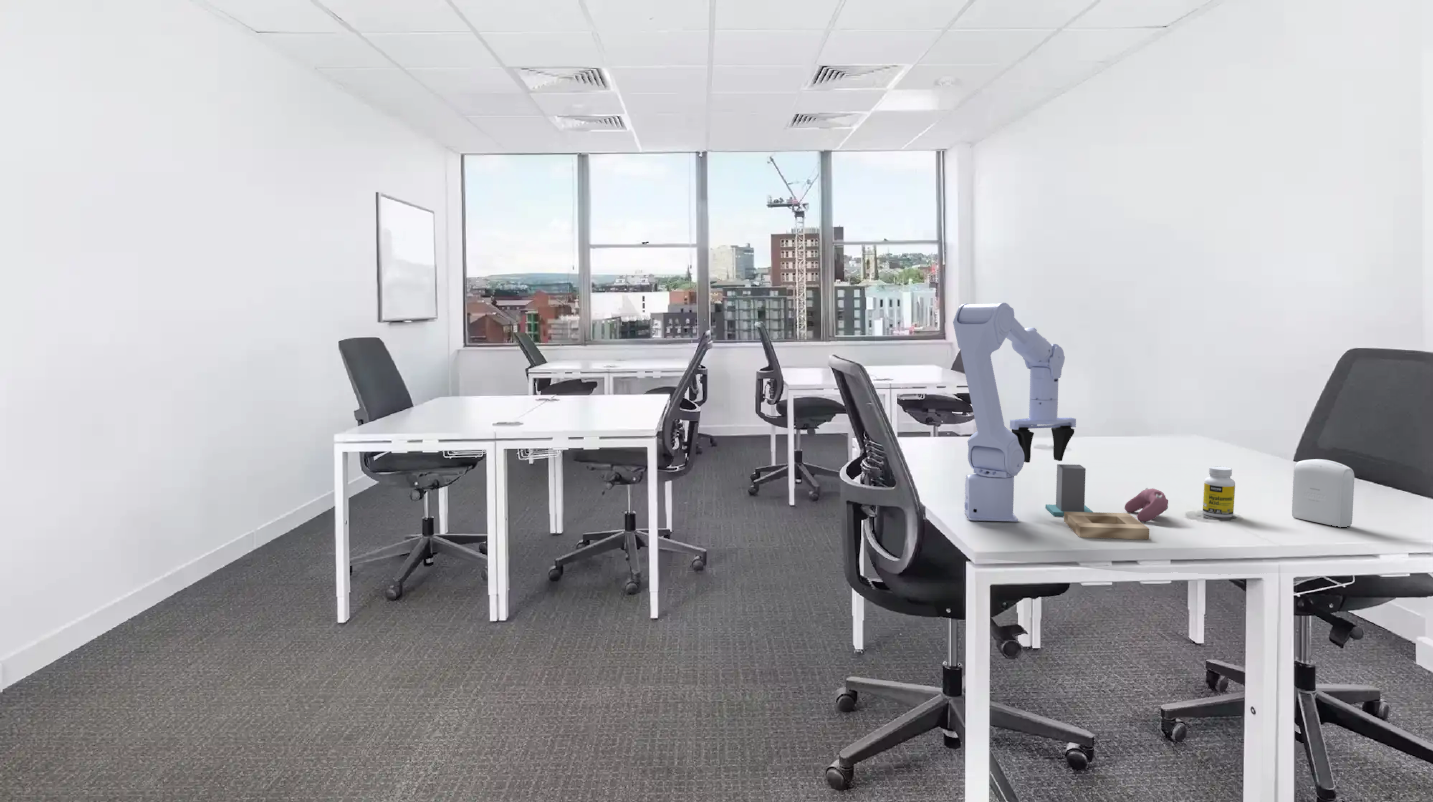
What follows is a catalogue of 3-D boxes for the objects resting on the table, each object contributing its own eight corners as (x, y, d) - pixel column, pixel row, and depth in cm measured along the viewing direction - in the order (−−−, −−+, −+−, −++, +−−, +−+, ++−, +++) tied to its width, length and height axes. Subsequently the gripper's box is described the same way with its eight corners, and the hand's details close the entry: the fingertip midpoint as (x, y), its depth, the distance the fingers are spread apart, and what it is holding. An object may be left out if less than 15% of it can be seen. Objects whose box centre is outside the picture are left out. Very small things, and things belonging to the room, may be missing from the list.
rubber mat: (1053, 515, 170) (1053, 511, 170) (1045, 508, 177) (1045, 504, 177) (1094, 516, 168) (1094, 513, 168) (1085, 508, 175) (1085, 505, 175)
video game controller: (1158, 530, 163) (1176, 500, 162) (1136, 519, 164) (1154, 489, 163) (1142, 518, 173) (1159, 489, 172) (1121, 508, 173) (1138, 479, 172)
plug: (1061, 511, 170) (1062, 468, 169) (1055, 506, 175) (1057, 464, 174) (1084, 511, 170) (1085, 468, 169) (1078, 506, 174) (1079, 464, 173)
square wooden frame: (1079, 537, 153) (1080, 526, 153) (1063, 521, 165) (1064, 511, 165) (1149, 539, 151) (1149, 528, 151) (1127, 523, 163) (1128, 513, 163)
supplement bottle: (1204, 516, 167) (1207, 469, 166) (1200, 510, 172) (1202, 464, 171) (1236, 519, 165) (1238, 470, 164) (1230, 512, 170) (1232, 466, 169)
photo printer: (1287, 517, 166) (1290, 456, 165) (1301, 515, 168) (1305, 455, 166) (1340, 529, 156) (1345, 465, 155) (1356, 527, 158) (1360, 463, 157)
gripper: (1022, 401, 174) (1021, 465, 175) (1085, 399, 176) (1083, 462, 177) (1005, 398, 180) (1003, 460, 182) (1065, 396, 183) (1064, 457, 184)
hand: (1041, 461), depth 180 cm, fingers open, 7 cm apart
